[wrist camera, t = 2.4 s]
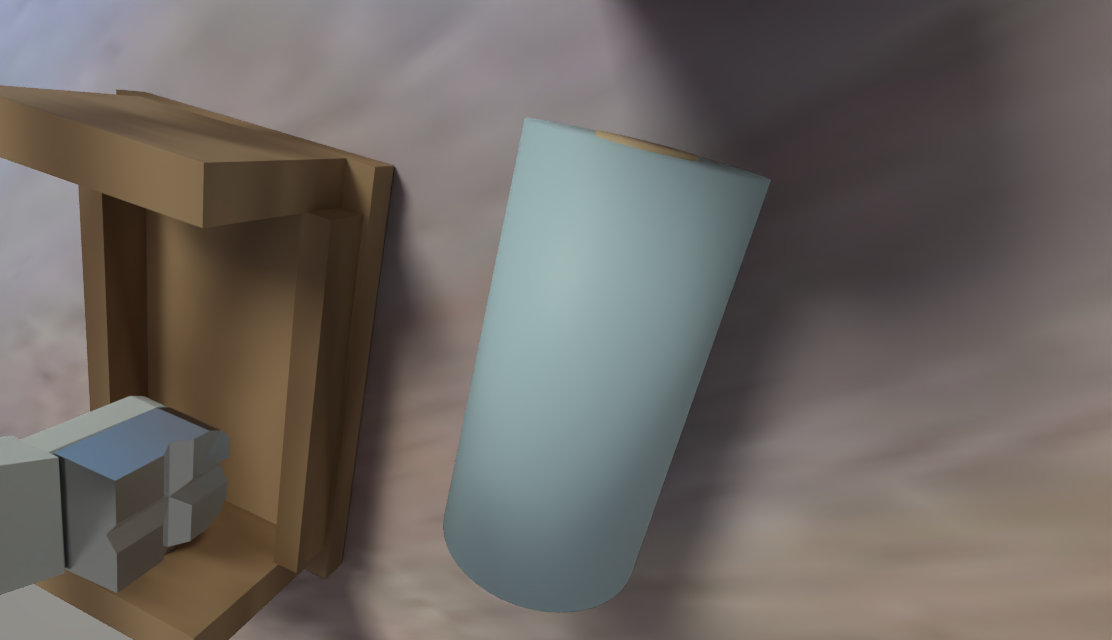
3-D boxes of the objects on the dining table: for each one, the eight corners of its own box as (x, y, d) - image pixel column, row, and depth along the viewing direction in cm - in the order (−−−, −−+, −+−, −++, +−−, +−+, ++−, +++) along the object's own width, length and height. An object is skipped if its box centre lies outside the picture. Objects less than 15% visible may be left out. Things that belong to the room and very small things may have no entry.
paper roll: (808, 182, 14) (696, 165, 10) (668, 553, 18) (545, 656, 13) (620, 131, 17) (473, 100, 13) (536, 455, 21) (402, 514, 17)
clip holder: (394, 165, 18) (240, 174, 13) (341, 562, 24) (218, 687, 18) (144, 92, 21) (-78, 72, 15) (149, 471, 26) (-12, 558, 21)
